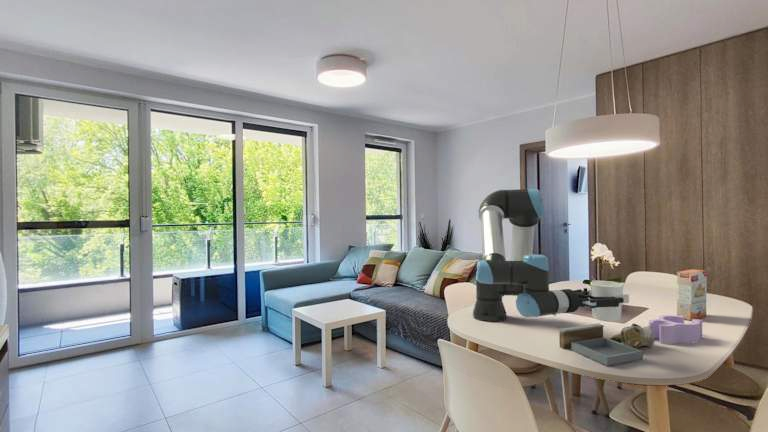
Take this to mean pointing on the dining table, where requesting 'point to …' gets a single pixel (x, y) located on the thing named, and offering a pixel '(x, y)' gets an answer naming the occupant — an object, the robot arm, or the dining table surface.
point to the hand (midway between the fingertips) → (615, 295)
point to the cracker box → (691, 293)
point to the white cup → (606, 291)
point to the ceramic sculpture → (635, 336)
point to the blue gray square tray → (607, 351)
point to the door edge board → (579, 334)
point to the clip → (676, 329)
